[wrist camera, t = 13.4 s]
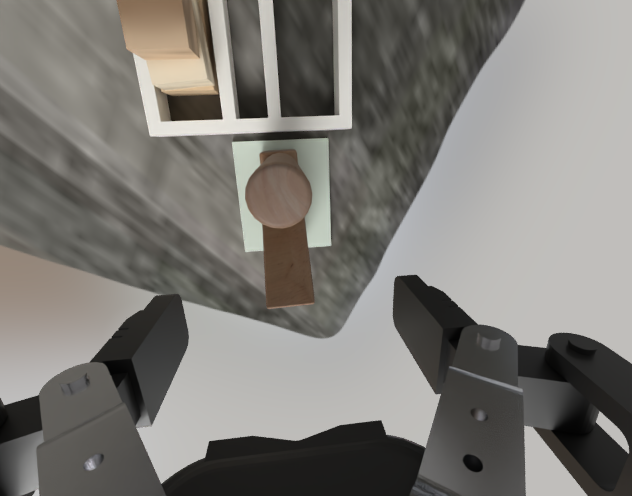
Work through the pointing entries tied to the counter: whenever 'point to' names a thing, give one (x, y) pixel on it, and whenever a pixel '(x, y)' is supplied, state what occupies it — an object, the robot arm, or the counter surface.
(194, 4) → the offcut stack
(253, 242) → the sage mat
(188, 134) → the offcut rack
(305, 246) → the wooden block
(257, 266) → the counter surface
